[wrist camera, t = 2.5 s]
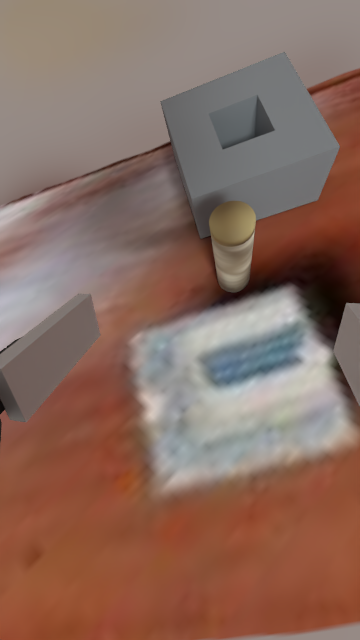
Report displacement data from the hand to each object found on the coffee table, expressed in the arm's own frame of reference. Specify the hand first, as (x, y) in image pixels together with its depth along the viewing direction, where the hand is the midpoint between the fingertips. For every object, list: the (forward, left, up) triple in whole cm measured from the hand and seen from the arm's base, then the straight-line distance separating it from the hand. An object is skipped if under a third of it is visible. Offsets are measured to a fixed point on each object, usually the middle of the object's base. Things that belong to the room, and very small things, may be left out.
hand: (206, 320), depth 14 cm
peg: (-4, -10, -19) cm, 22 cm away
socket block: (-10, -25, -19) cm, 33 cm away
